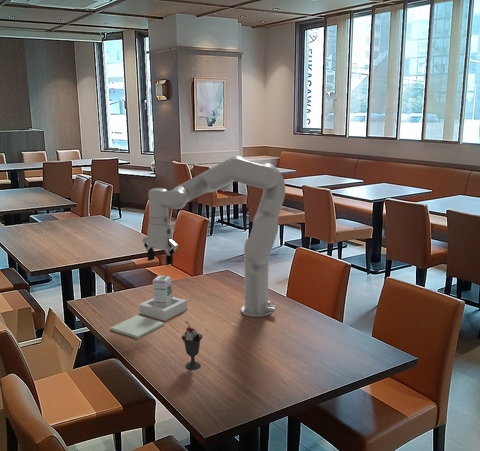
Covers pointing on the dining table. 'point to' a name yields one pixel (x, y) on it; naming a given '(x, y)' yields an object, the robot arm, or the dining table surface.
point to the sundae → (192, 346)
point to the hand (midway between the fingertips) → (160, 262)
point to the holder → (161, 313)
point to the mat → (137, 326)
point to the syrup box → (162, 291)
